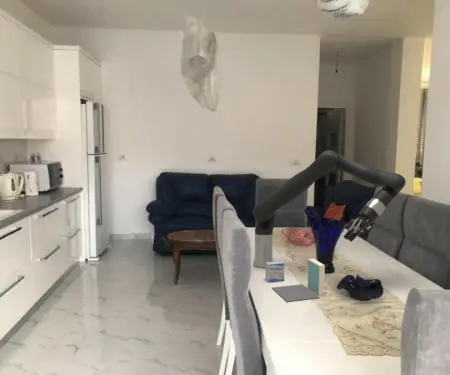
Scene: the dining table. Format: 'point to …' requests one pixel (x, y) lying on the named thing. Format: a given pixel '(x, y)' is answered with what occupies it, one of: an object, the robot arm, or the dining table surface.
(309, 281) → the white and teal block
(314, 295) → the mat
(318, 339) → the dining table surface
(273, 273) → the medicine box
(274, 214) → the robot arm
